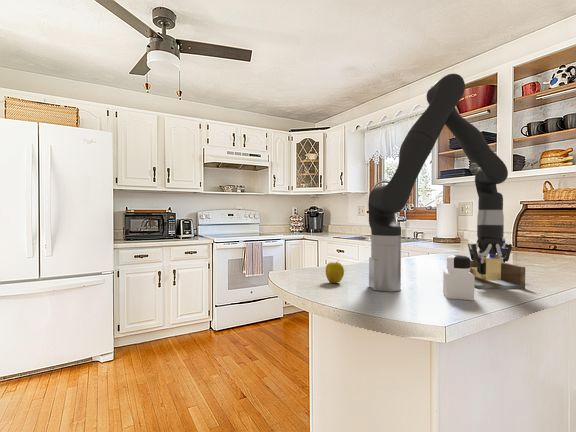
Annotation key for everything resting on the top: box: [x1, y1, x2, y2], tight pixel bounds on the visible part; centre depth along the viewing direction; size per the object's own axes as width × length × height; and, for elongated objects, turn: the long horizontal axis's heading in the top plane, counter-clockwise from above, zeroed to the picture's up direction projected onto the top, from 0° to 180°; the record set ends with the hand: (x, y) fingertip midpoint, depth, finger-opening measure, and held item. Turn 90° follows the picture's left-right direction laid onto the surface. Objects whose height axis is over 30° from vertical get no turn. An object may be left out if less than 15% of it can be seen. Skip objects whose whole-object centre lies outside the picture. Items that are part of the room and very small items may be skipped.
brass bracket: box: [469, 257, 501, 280], centre depth 111 cm, size 10×5×7 cm, turn 2°
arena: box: [470, 259, 526, 290], centre depth 112 cm, size 16×15×7 cm
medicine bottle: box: [442, 254, 475, 301], centre depth 93 cm, size 7×7×12 cm
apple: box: [325, 260, 345, 284], centre depth 110 cm, size 6×6×8 cm
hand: (489, 273), depth 108 cm, fingers closed on brass bracket, 5 cm apart
